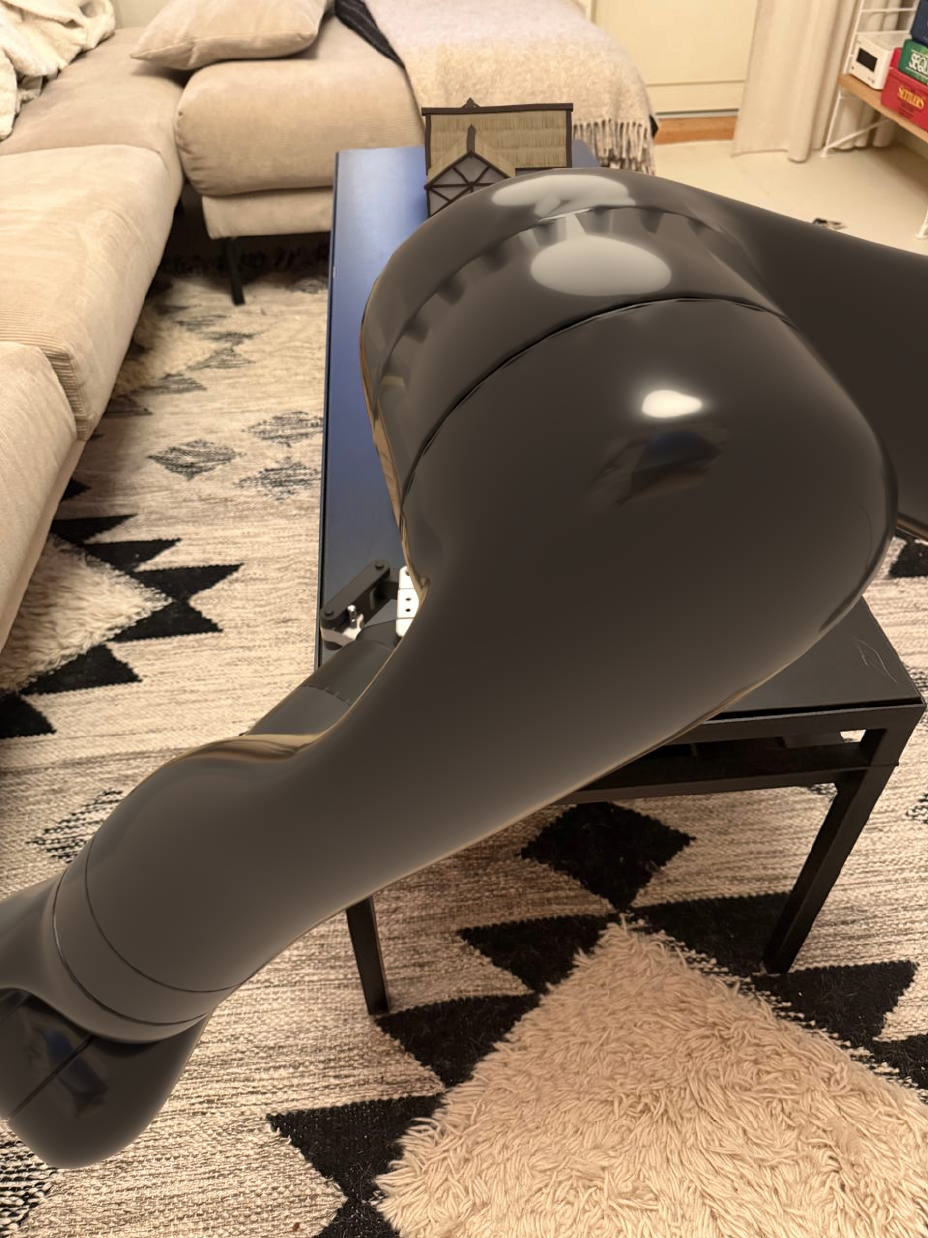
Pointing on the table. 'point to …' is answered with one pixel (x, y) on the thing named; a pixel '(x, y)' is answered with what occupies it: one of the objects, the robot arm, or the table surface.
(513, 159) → the miniature building
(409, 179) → the table surface
